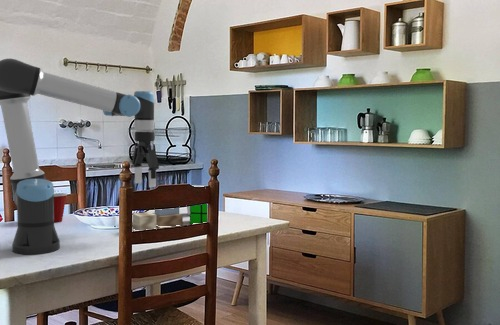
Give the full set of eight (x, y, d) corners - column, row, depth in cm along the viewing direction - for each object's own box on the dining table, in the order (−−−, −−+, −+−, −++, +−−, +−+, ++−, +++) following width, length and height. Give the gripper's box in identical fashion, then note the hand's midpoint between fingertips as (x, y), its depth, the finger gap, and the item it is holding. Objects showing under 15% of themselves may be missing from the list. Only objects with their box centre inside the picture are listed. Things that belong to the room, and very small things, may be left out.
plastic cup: (57, 218, 245) (56, 191, 244) (73, 221, 238) (72, 193, 237) (35, 221, 236) (35, 193, 235) (51, 225, 230) (50, 196, 228)
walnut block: (160, 229, 227) (160, 217, 227) (150, 224, 235) (150, 213, 235) (182, 226, 233) (182, 214, 232) (171, 222, 241) (171, 211, 240)
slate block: (159, 215, 229) (159, 206, 229) (154, 214, 233) (154, 204, 233) (179, 214, 234) (179, 204, 234) (174, 212, 238) (174, 202, 238)
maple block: (139, 234, 216) (139, 216, 215) (132, 230, 222) (132, 213, 221) (156, 232, 220) (156, 214, 219) (149, 229, 226) (149, 212, 225)
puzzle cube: (216, 220, 245) (217, 198, 244) (213, 225, 235) (213, 202, 234) (194, 220, 246) (194, 197, 245) (189, 224, 236) (189, 201, 235)
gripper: (167, 132, 209) (167, 188, 211) (140, 129, 229) (141, 180, 232) (148, 132, 205) (149, 189, 207) (123, 130, 225) (124, 182, 227)
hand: (145, 185), depth 219 cm, fingers open, 13 cm apart
